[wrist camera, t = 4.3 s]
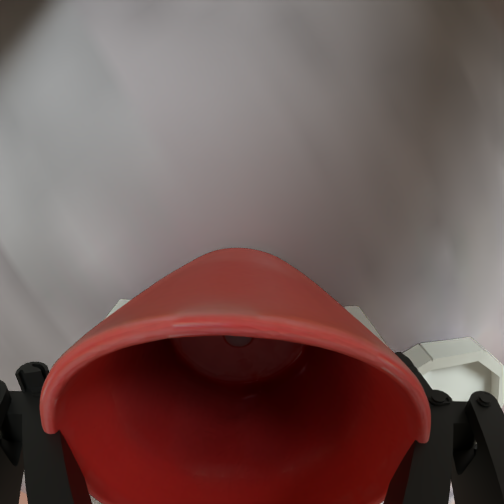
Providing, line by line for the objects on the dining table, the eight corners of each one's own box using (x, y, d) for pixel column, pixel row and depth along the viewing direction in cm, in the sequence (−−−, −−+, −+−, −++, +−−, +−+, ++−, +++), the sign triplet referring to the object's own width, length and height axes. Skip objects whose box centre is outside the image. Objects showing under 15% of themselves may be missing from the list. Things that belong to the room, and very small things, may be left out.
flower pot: (239, 425, 18) (240, 562, 9) (97, 312, 16) (-1, 437, 6) (379, 322, 16) (472, 450, 7) (239, 165, 14) (233, 170, 4)
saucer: (325, 349, 16) (333, 369, 15) (520, 327, 17) (533, 338, 15) (290, 499, 21) (292, 515, 19) (448, 467, 22) (454, 478, 20)
